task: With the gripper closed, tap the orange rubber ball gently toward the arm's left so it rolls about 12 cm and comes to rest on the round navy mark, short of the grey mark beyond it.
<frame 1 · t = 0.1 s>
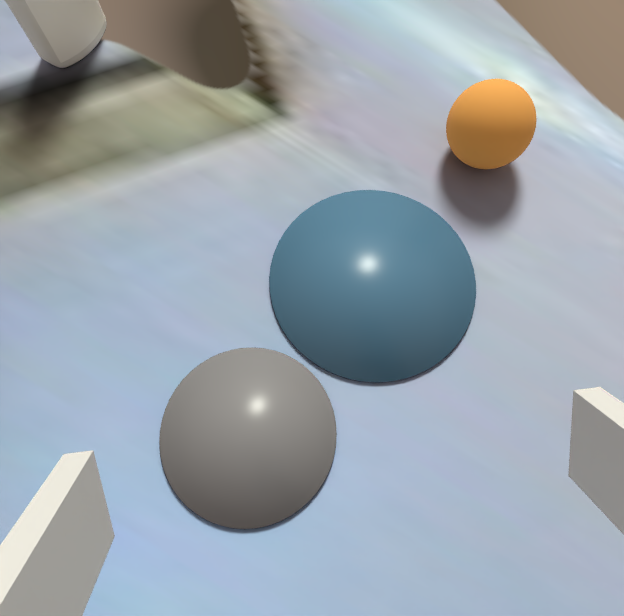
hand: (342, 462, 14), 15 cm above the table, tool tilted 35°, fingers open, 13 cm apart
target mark: (372, 280, 32), on the table
ball: (490, 125, 33), on the table
eye dropper bottle: (76, 44, 39), on the table
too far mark: (248, 433, 29), on the table
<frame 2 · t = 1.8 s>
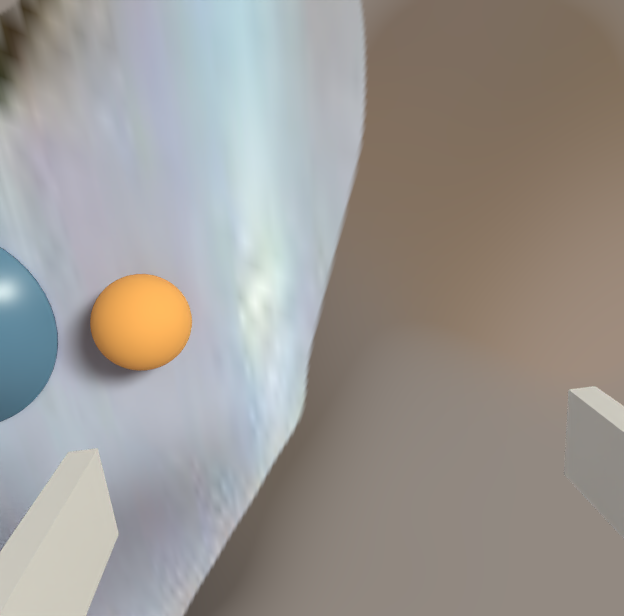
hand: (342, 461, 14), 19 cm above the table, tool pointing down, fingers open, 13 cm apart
ball: (142, 322, 29), on the table
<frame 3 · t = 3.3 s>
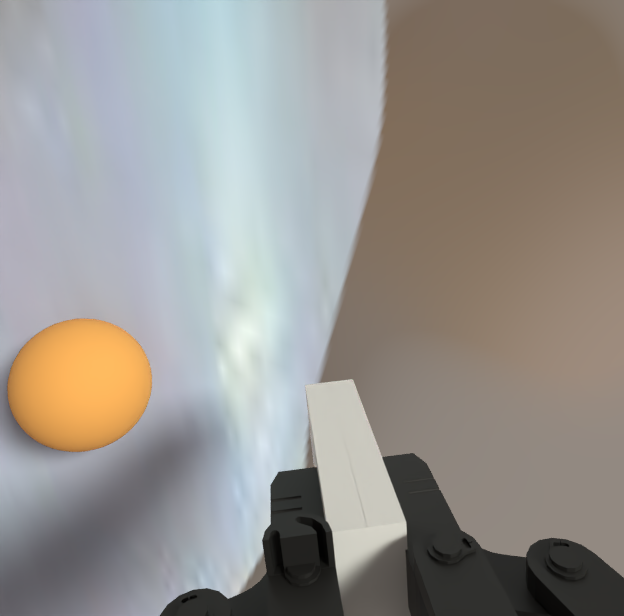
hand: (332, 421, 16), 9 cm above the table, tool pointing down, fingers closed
ball: (83, 383, 21), on the table
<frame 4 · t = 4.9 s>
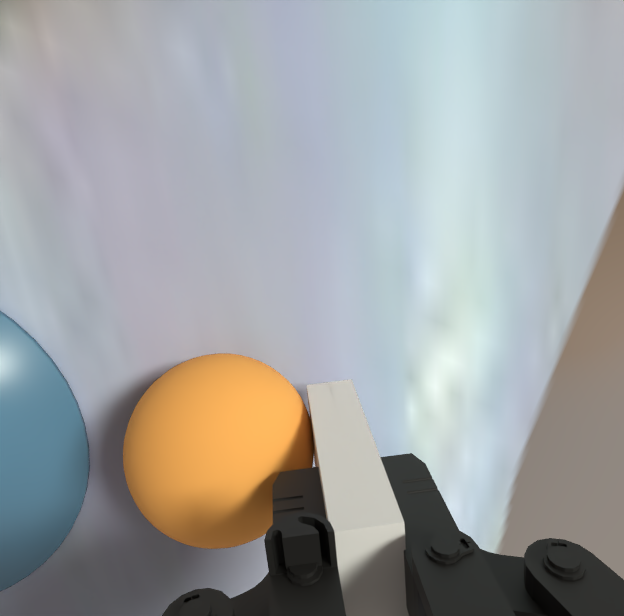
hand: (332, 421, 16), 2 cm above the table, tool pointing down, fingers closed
ball: (221, 446, 15), on the table, touching gripper
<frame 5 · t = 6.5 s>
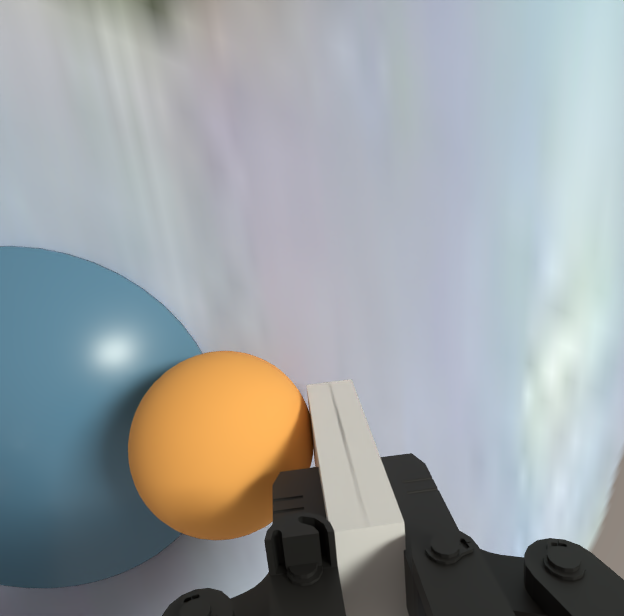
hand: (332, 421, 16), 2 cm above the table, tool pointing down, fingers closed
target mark: (34, 431, 18), on the table
ball: (223, 441, 16), on the table, touching gripper
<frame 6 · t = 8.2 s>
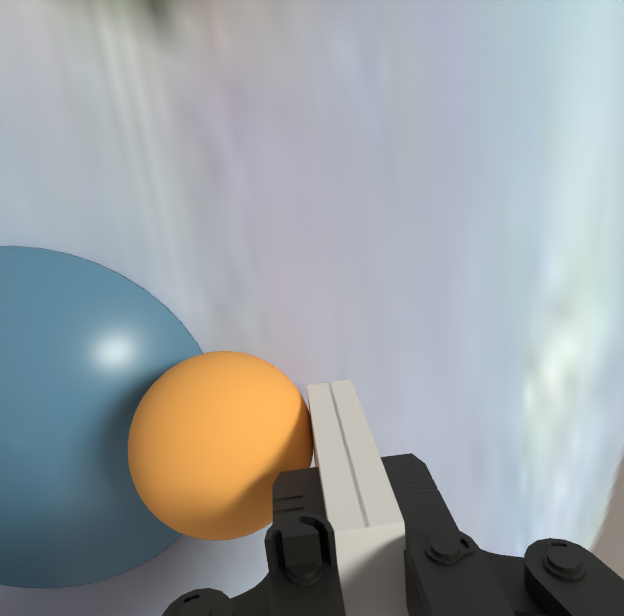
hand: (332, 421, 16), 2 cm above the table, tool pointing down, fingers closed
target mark: (35, 431, 18), on the table
ball: (223, 441, 16), on the table, touching gripper
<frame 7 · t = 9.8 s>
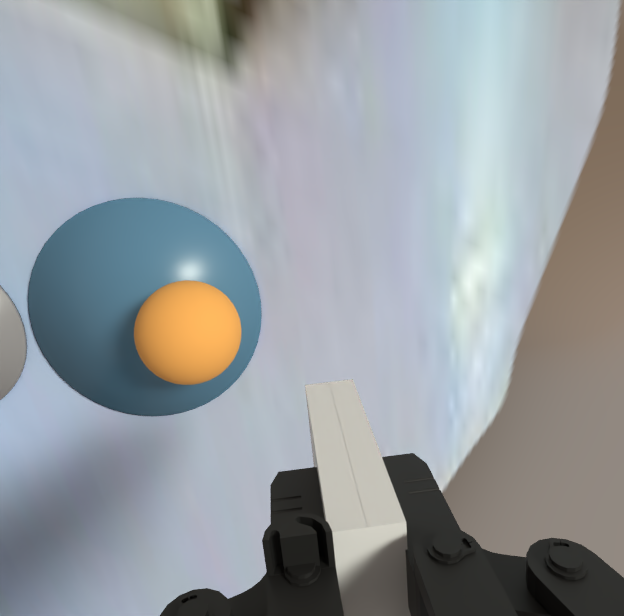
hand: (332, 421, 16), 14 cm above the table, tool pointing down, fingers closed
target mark: (147, 313, 29), on the table
ball: (189, 332, 27), on the table
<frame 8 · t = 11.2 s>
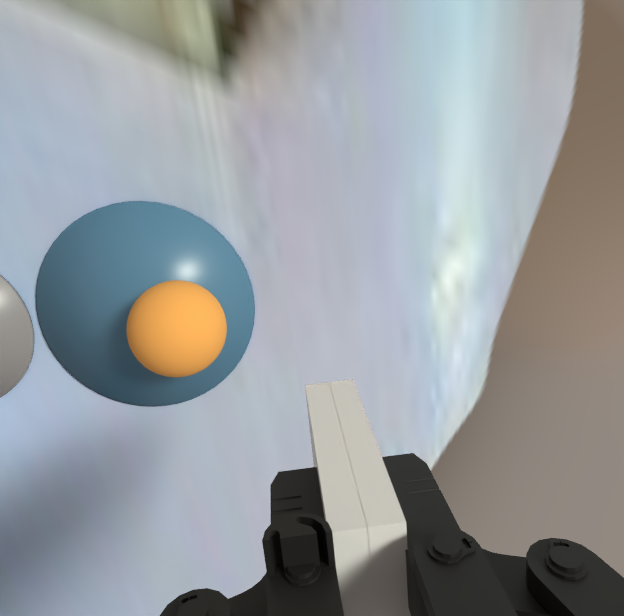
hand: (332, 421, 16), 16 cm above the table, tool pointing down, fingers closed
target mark: (148, 308, 31), on the table
ball: (177, 328, 29), on the table
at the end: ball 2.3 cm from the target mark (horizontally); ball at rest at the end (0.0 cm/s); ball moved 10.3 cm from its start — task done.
